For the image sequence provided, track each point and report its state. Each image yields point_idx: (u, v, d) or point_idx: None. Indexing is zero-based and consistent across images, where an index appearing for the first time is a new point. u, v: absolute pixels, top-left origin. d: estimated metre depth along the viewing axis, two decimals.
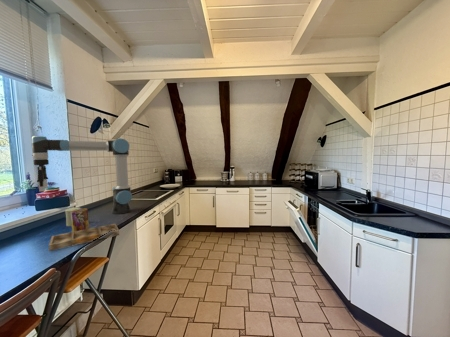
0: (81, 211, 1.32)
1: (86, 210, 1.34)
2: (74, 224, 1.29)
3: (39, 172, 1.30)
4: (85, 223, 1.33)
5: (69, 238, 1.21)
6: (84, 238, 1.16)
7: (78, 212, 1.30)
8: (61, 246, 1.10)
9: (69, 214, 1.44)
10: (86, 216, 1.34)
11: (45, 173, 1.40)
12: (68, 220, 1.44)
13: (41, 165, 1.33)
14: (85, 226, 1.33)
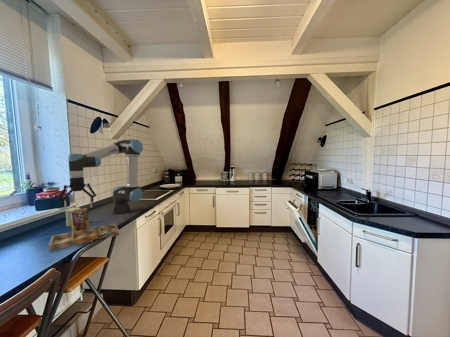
0: (81, 211, 1.32)
1: (86, 210, 1.34)
2: (74, 224, 1.29)
3: None
4: (85, 223, 1.33)
5: (69, 238, 1.21)
6: (84, 238, 1.16)
7: (78, 212, 1.30)
8: (61, 246, 1.10)
9: (69, 214, 1.44)
10: (86, 216, 1.34)
11: (85, 192, 1.33)
12: (68, 220, 1.44)
13: (70, 183, 1.28)
14: (85, 226, 1.33)
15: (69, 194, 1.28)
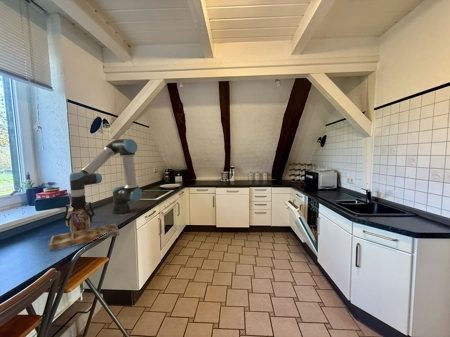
0: (81, 211, 1.32)
1: None
2: (74, 224, 1.29)
3: None
4: (85, 223, 1.33)
5: (69, 238, 1.21)
6: (84, 238, 1.16)
7: (78, 212, 1.30)
8: (61, 246, 1.10)
9: (69, 214, 1.44)
10: (86, 216, 1.34)
11: (85, 210, 1.33)
12: None
13: (71, 203, 1.29)
14: (85, 226, 1.33)
15: None
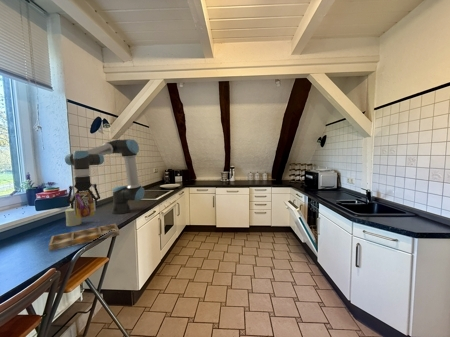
0: (86, 193, 1.21)
1: None
2: (78, 207, 1.18)
3: (69, 192, 1.17)
4: (89, 206, 1.22)
5: (69, 238, 1.21)
6: (84, 238, 1.16)
7: (82, 194, 1.19)
8: (61, 246, 1.10)
9: (69, 214, 1.44)
10: (91, 199, 1.23)
11: (90, 193, 1.22)
12: (68, 220, 1.44)
13: None
14: (90, 210, 1.22)
15: None
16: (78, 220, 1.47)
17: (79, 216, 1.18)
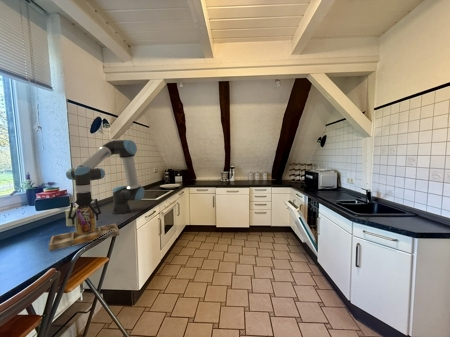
0: (87, 209, 1.21)
1: None
2: (79, 223, 1.18)
3: (70, 208, 1.18)
4: (90, 222, 1.23)
5: (69, 238, 1.21)
6: (84, 238, 1.16)
7: (83, 209, 1.20)
8: (61, 246, 1.10)
9: None
10: (92, 214, 1.24)
11: (91, 208, 1.23)
12: (68, 220, 1.44)
13: None
14: (91, 225, 1.23)
15: None
16: None
17: (80, 232, 1.19)
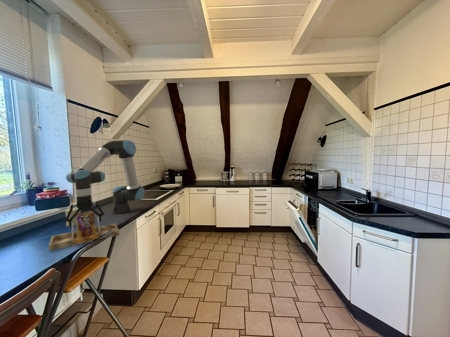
0: (87, 214, 1.22)
1: (92, 213, 1.24)
2: (79, 228, 1.19)
3: (69, 210, 1.18)
4: (91, 227, 1.23)
5: (69, 238, 1.21)
6: (84, 238, 1.16)
7: (83, 215, 1.20)
8: (61, 246, 1.10)
9: None
10: (92, 220, 1.24)
11: (93, 210, 1.24)
12: None
13: None
14: (91, 231, 1.23)
15: (76, 214, 1.19)
16: None
17: None
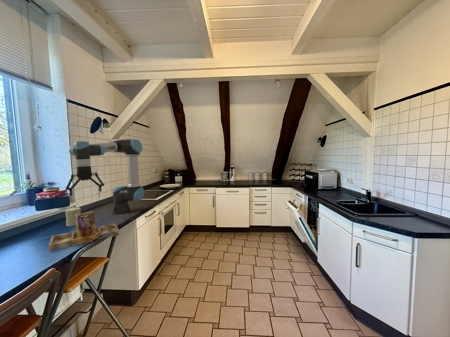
0: (87, 214, 1.22)
1: (92, 213, 1.24)
2: (79, 228, 1.19)
3: None
4: (91, 227, 1.23)
5: (69, 238, 1.21)
6: (84, 238, 1.16)
7: (83, 215, 1.20)
8: (61, 246, 1.10)
9: (69, 214, 1.44)
10: (92, 220, 1.24)
11: (93, 181, 1.28)
12: (68, 220, 1.44)
13: (77, 172, 1.24)
14: (91, 231, 1.23)
15: None
16: None
17: None
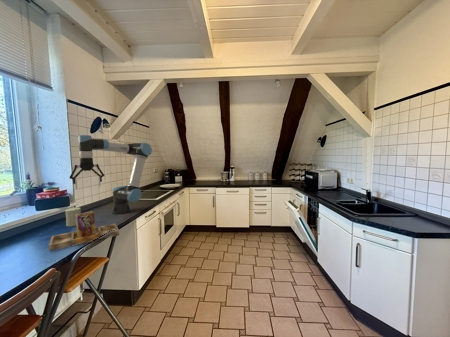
0: (87, 214, 1.22)
1: (92, 213, 1.24)
2: (79, 228, 1.19)
3: (73, 170, 1.35)
4: (91, 227, 1.23)
5: (69, 238, 1.21)
6: (84, 238, 1.16)
7: (83, 215, 1.20)
8: (61, 246, 1.10)
9: (69, 214, 1.44)
10: (92, 220, 1.24)
11: (94, 171, 1.41)
12: (68, 220, 1.44)
13: (80, 163, 1.36)
14: (91, 231, 1.23)
15: (79, 173, 1.36)
16: None
17: None
